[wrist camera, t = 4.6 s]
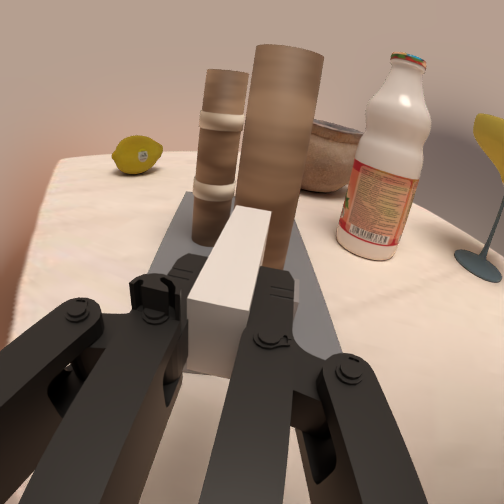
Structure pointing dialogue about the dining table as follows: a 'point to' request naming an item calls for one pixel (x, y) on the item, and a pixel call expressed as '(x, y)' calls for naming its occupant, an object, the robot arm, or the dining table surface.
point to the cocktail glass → (500, 152)
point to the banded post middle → (217, 153)
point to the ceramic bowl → (329, 157)
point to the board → (297, 263)
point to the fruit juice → (387, 163)
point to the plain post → (278, 139)
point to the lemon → (136, 154)
